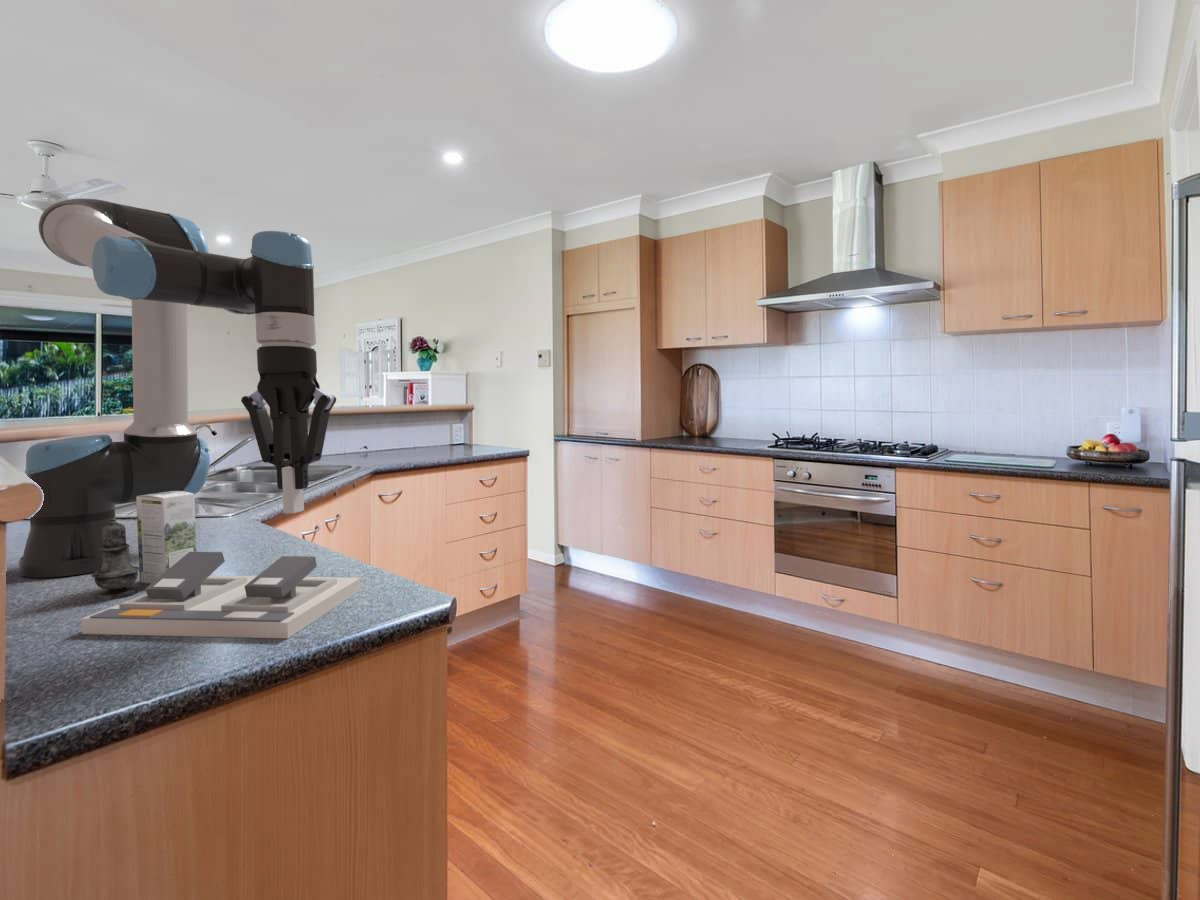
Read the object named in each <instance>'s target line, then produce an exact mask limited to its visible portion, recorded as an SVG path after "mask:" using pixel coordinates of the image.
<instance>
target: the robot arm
mask: <svg viewBox="0 0 1200 900" xmlns="http://www.w3.org/2000/svg"><path fill="white" fill-rule="evenodd" d="M38 234H39V236H40V238H41V241H42V242H43V244H44V245H45V246H46V248H47V249H48V250H49V251H50V252H51V253H52V254H53V255H55V256H56V257H58V258H60V259H61V260H64V262H67V263H69V264H71V265H74V266H79V267H87V268H89V269H91V270H92V275H93V278H94V281H95V283H96V286H97V288H98V289H99V290H100V291H101V292H102V293H103V294H105V295H108V296H115V297H122V298H124V299H129V300H131V337H132V338H131V342H132V343H131V349H132V350H131V351H132V397H133V399H132V401H133V403H132V404H133V406H132V407H133V413H132V414H133V422H132V423H131V424H130V425H129V426H128V427H126V428H125V429H124V430H123V441H113V438H111V436H110V435H109V434H93V435H83V436H74V437H66V438H60V439H59V438H58V439H53V440H46V441H42V442H41V441H40V442H37V443H34V444H32V445H31V446H30V447H29V448H28V449H27V451H26V454H25V469H24V475H26V477H27V476H28V477H29V478H30V479H32V480H33V481H34V482H36V483H37V484H38V485H39V486H40V487H41V489H42V490H43V493H44V501H43V505H42V507H41V509H40V510H39V511H38V512H37V513H36V514H35V515H34V516H33V517H31V518H30V517H29V524H30V526H29V533H28V535H27V538H26V543H25V546H24V551H23V556H21V557H20V559H19V561H18V571H19V575H20V574H21V575H23V576H22V577H24V576H26V578H33V579H34V578H36V579H38V578H39V579H40V578H41V579H42V578H58V577H59V578H60V577H69V576H75V575H76V576H77V575H83V574H90V573H91V574H92V573H95V572H97V571H99V570H100V569H101V568H102V564H103V552H102V550H100V548H101V547H103V541H102V528H103V527H104V526H105V525H107V524H109V523H111V518H112V517H114V518H115V519H116V518H117V517H116V505H121V504H129V503H136V497H137V496H141V495H149V494H156V493H162V492H170V491H183V492H189V493H193V494H194V495H196V494H198V493H199V492H200V491H201V489H202V488H203V487H204V486H205V484H206V482H207V479H208V476H209V471H210V465H211V463H210V462H211V459H210V458H211V457H210V453H209V447H208V443H206V441H205V440H204V439H202V438H200V437H198V431H197V430H196V429H195V428H194V427H193V426H192V425H190V424H189V415H188V414H189V410H188V409H189V405H188V404H189V400H188V399H189V397H188V396H189V393H188V390H189V388H188V386H189V385H188V383H189V382H188V379H189V378H188V377H189V376H188V305H190V306H197V307H205V308H206V307H207V308H214V309H222V310H225V311H227V312H228V313H232V314H234V315H235V314H236V315H254V314H255V333H256V334H255V335H256V342H257V343H258V344H260V345H261V346H259V347H258V349H256V359H257V360H256V361H257V362H256V363H257V373H258V374H259V381H258V383H257V387H256V390H255V391H254V392H253V393H252V394H250V395H244V396H242V397H241V400H240V401H241V403H242V404H243V406H244V409H246V411H247V412H248V415H249V418H250V421H251V425H252V428H253V432H254V436H255V440H256V443H257V447H258V450H259V454H260V457H261V460H262V462H263V463H265V464H271V465H273V466H274V467H275V468H276V483H277V485H276V486H277V488H278V490H282V501H283V502H282V503H283V504H282V505H283V507H282V508H283V514H297V513H300V512H303V511H305V498H304V496H305V495H304V489H308V487H309V465H311V464H314V463H315V462H318V461H319V462H320V460H321V459H322V454H323V449H324V444H325V439H326V434H327V429H328V422H329V417H330V413H331V411H332V409H333V407H334V405H335V404H336V402H337V397H336V396H335V395H331V394H327V393H326V392H324V390H321V386H320V384H319V382H318V380H317V373H318V365H317V351H316V350H315V349H314V348H313V347H314V346H315V345H316V344H317V338H316V337H317V336H316V335H317V334H316V321H315V293H314V292H315V289H314V288H315V287H314V286H315V283H314V267H315V266H314V263H313V256H312V246H311V242H309V240H308V239H306V238H305V237H304V236H302V235H299V234H295V233H292V232H287V231H280V230H279V231H278V230H264V231H263V230H262V231H258V232H257V233H254V234H253V236H252V239H251V248H250V254H251V256H250V257H247V258H238V257H232V256H227V255H221V254H217V253H216V254H214V253H211V252H210V251H209V246H208V243H207V240H206V237H205V235H204V233H203V232H202V230H201V228H200V226H198V224H197V223H195V222H194V221H193V220H191V219H188V218H186V217H185V218H184V217H181V216H178V215H173V214H171V213H165V212H161V211H157V210H156V211H155V210H151V209H145V208H141V207H140V208H139V207H136V206H132V205H131V206H130V205H125V204H120V203H117V202H112V201H107V200H103V199H95V198H70V199H65V200H61V201H57V202H55V203H53V204H51V205H50V206H48V207H47V208H46V209H45V210H44V211H43V212H42V214H41V215H40V217H39V221H38ZM312 346H313V347H312ZM312 403H313V404H314V407H313V410H312V413H311V419H310V424H308V419H309V418H310V406H311V404H312ZM266 404H267V406H268V407H269V413H268V411H267V408H266V407H265V406H266ZM269 416H270V417H269ZM271 421H272V422H271ZM271 423H272V424H271ZM308 425H309V428H308ZM115 522H117V519H116V520H115ZM129 547H130V546H129ZM129 547H128V548H127V554H128V561H129V562H130V560H131V558H130V557H131V555H130V548H129ZM21 575H20V576H21Z"/></svg>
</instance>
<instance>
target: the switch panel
mask: <svg viewBox="0 0 1200 900" xmlns="http://www.w3.org/2000/svg"><path fill="white" fill-rule="evenodd" d="M257 576H258V575H210V576H209V577H207V578H206V579H205V580H204V581H203V582H202V583H201V584H200V585H199V586H198V587H197V588H196V589H195V590H193V591H192V592H191V593H190V594H189V595H188V596H187V597H186V598H185V599H149V598H148V595H147V593H144V594H141V595H138V596H136V597H133V598H131V599H128V600H126V601H123V602H120V603H118V604H116V605H113V606H110V607H107V608H106V609H102V610H101V611H97V612H95V613H92V614H90V615H87V616H84V617H81V634H82V635H111V636H114V635H117V636H153V637H154V636H156V637H157V636H161V637H163V636H165V637H201V638H202V637H204V638H207V637H209V638H210V637H211V638H241V639H242V638H243V639H245V638H247V639H249V638H250V639H251V638H252V639H253V638H254V639H257V638H258V639H289V638H291V637H293V636H294V635H296V634H297V633H299V632H300V631H302V630H303V629H305V628H306V627H308V626H309V625H311V624H313V623H314V622H315V621H317V620H318V619H320V618H321V617H323V616H324V615H327V614H329V612H330V611H332V610H334V609H335V608H337V607H338V606H339V605H341V604H343V603H344V602H346V601H347V600H349V599H351V598H352V597H353V596H355V595H356V594H358V593H359V592H361V590H362V584H361V583H362V582H361V581H362V580H361V579H362V577H334V576H332V577H331V576H330V577H329V576H328V577H327V576H324V577H322V576H306V577H305V578H304V579H303V580H301V581H300V582H299V583H298V584H297V585H296V586H295V587H294V588H293V589H292V590H290V591H289V592H288V593H287V594H286V595H285V596H284V597H283V598H280V597H247V596H246V591H245V585H247V584H248V583H249V582H250V581H252V580H253V579H254V578H255V577H257Z"/></svg>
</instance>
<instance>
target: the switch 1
mask: <svg viewBox="0 0 1200 900" xmlns="http://www.w3.org/2000/svg"><path fill="white" fill-rule="evenodd" d="M225 562H226V560H225V557H224V555H223V551H196V552H189V553H187V554H186V555H185V556H184V557H183V558H181V559H180V560H179V561H178V562H177V563H175V564H174V565H173V566H172V567H171V568H169V569H168V570H167V571H166V572H165V573H163V574H162V575H161V576H160V577H159V578H158V579H156V580H155V581H154V582H153V583H152V584H148V586H147V587H146V588H144V590H145V592H146V593H147V595H148V598H149V599H185V598H186V597H187V596H188V595H189V594H190V593H191V592H192V591H193V590H195V589H196V588H197V587H198V586H199V585H200V584H201V583H202V582H203V581H204V580H205V579H206V578H207V577H209V576H212V574H213V573H214V572H215V571H216V570H217V569H218V568H220V567H221V565H223V564H224V563H225ZM146 593H145V594H146Z"/></svg>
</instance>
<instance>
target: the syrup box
mask: <svg viewBox="0 0 1200 900" xmlns="http://www.w3.org/2000/svg"><path fill="white" fill-rule="evenodd" d="M135 505H136V520H137V521H136V523H137V525H136V526H137V527H136V528H137V543H138V544H137V545H138V546H137V547H138V567H139V568H140V570H139V571H138V572H139V574H138V576H139V582H140V583H141V584H148V585H150V584H152V583H153V582H154V581H155V580H156V579H158V578H159V577H160V576H161V575H162V574H163V573H165V572H166V571H167V570H168V569H169V568H171V567H172V566H173V565H174V564H175V563H177V562H178V561H179V560H180V559H181V558H183V557H184V556H185V555H186V554H187V553H189V552H197V540H196V539H197V537H196V535H197V534H196V533H197V532H196V509H195V508H196V507H195V506H196V505H195V494H193V493H189V492H183V491H170V492H162V493H156V494H149V495H141V496H137V497H136V502H135Z"/></svg>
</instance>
